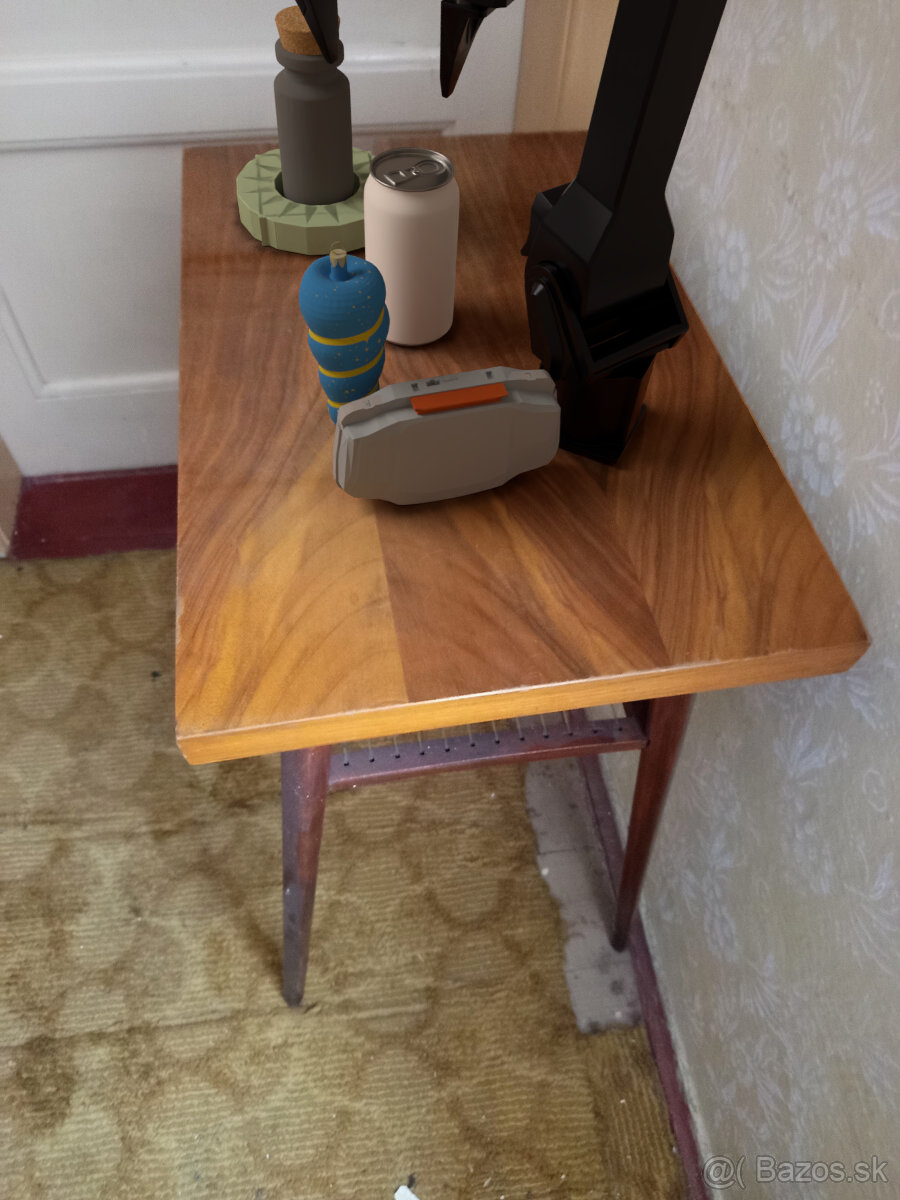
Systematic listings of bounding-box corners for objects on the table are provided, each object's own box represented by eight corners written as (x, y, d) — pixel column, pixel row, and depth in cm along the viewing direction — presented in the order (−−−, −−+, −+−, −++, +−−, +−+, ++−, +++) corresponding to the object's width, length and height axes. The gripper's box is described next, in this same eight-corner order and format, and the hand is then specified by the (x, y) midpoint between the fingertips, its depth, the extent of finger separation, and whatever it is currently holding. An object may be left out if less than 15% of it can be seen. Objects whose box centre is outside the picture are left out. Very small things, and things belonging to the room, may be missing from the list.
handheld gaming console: (542, 450, 62) (559, 353, 55) (558, 480, 60) (577, 383, 54) (332, 488, 59) (324, 390, 52) (342, 521, 57) (335, 424, 51)
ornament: (396, 472, 60) (395, 267, 48) (316, 479, 59) (296, 272, 47) (386, 419, 63) (383, 214, 51) (310, 425, 62) (290, 218, 50)
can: (469, 331, 69) (480, 177, 60) (396, 359, 67) (396, 203, 57) (422, 288, 72) (426, 134, 63) (351, 313, 70) (344, 158, 60)
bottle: (359, 227, 77) (353, 33, 65) (289, 232, 76) (270, 36, 64) (349, 190, 81) (341, -1, 69) (282, 195, 80) (263, 1, 68)
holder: (387, 168, 83) (387, 140, 81) (406, 251, 75) (406, 222, 73) (239, 173, 81) (235, 145, 80) (242, 258, 74) (237, 229, 72)
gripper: (591, -208, 55) (552, 68, 67) (320, -264, 59) (331, 6, 71) (518, -162, 49) (490, 133, 61) (221, -228, 53) (252, 61, 65)
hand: (389, 78), depth 65 cm, fingers open, 9 cm apart
